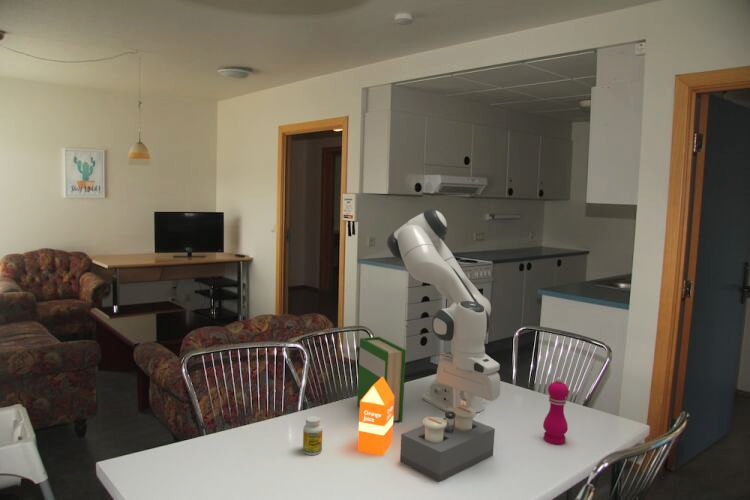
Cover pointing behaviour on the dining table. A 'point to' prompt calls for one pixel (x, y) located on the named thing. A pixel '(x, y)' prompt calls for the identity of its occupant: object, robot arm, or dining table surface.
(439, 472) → the mount
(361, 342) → the hardback book
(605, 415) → the dining table surface
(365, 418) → the orange juice
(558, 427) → the pepper mill
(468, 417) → the cream lidded cup
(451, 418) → the small glass shaker
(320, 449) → the supplement bottle
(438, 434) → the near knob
